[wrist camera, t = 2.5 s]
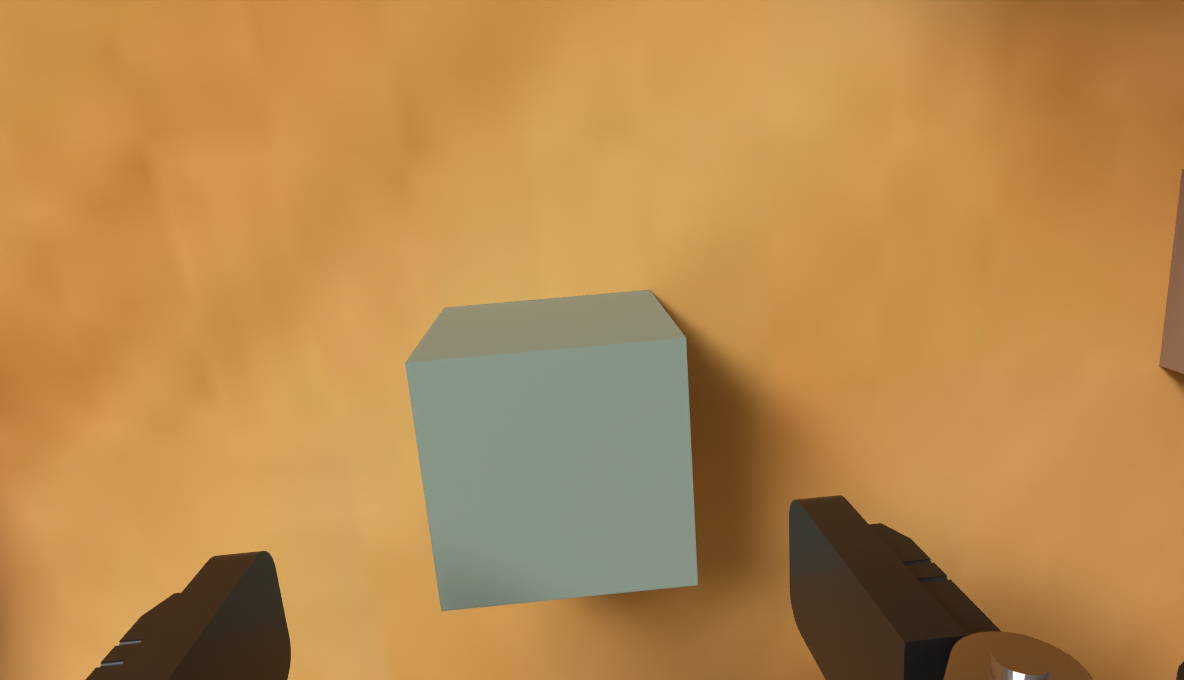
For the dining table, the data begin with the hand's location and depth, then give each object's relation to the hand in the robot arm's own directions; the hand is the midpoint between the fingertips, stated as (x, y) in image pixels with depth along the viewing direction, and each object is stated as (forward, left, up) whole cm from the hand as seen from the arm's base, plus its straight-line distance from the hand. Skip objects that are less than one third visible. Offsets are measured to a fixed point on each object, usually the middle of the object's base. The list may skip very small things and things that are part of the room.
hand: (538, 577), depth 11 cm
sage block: (0, 0, -9) cm, 9 cm away
